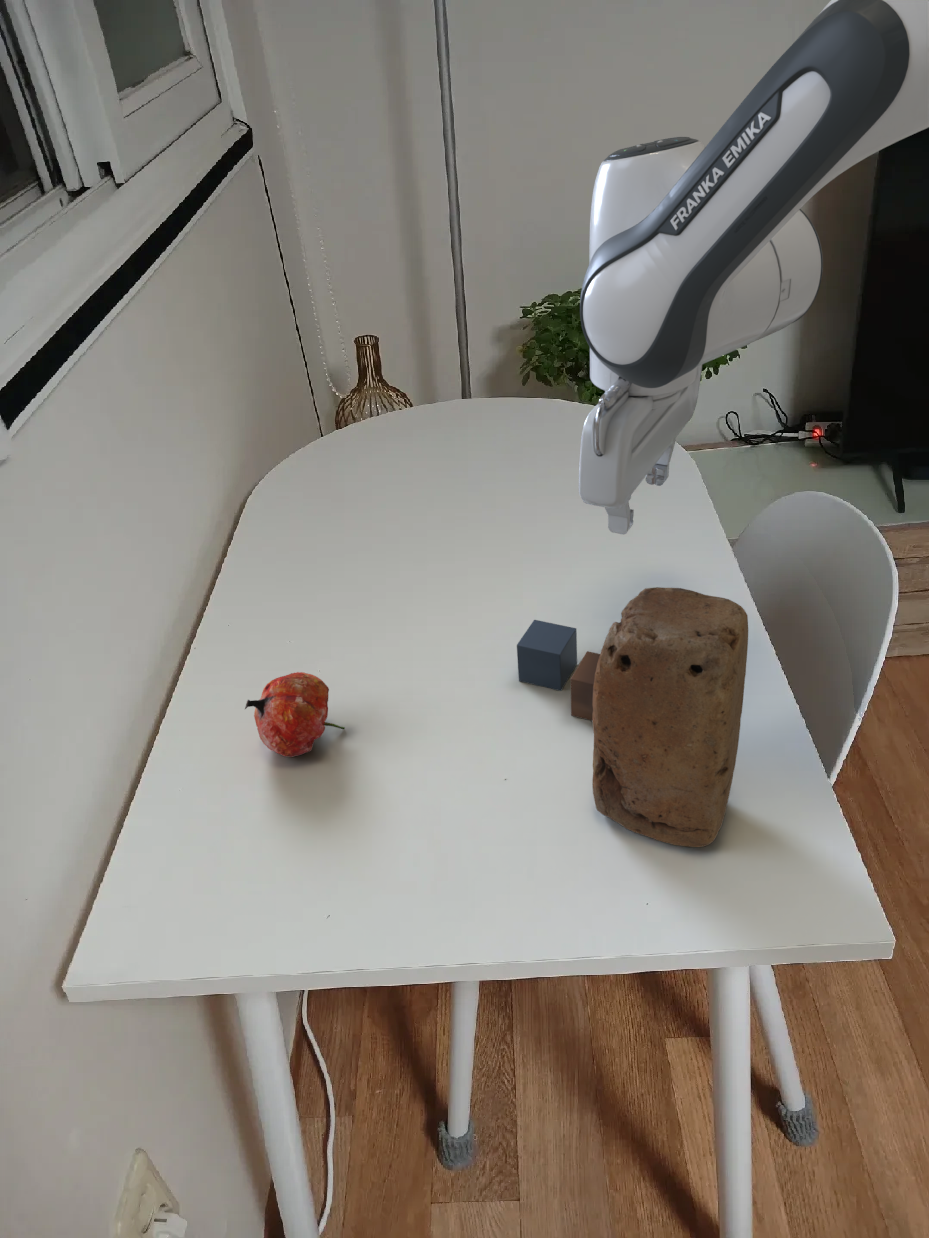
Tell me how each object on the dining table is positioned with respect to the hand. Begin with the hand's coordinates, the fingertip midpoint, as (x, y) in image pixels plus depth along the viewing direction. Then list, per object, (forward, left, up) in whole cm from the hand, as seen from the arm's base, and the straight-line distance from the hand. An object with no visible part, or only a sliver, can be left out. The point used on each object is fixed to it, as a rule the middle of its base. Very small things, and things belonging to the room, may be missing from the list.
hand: (639, 504), depth 86 cm
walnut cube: (0, +10, -16) cm, 19 cm away
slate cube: (+7, +7, -16) cm, 19 cm away
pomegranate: (+24, +24, -16) cm, 38 cm away
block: (-9, +21, -16) cm, 28 cm away
